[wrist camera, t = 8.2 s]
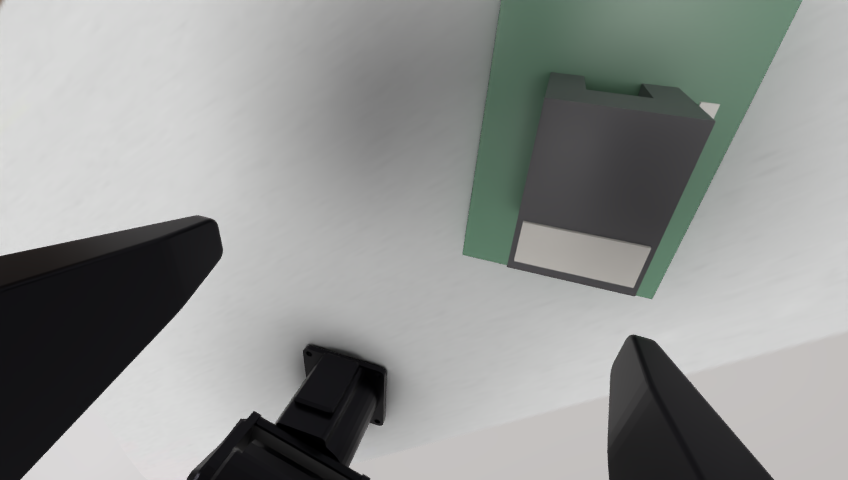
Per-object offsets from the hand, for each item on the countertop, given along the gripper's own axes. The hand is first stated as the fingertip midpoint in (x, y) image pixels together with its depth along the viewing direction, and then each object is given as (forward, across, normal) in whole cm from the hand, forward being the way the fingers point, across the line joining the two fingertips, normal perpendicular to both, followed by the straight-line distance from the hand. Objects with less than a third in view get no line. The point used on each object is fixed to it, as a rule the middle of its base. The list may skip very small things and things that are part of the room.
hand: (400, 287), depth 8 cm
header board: (+12, -4, 0) cm, 13 cm away
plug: (+11, -4, 0) cm, 11 cm away
